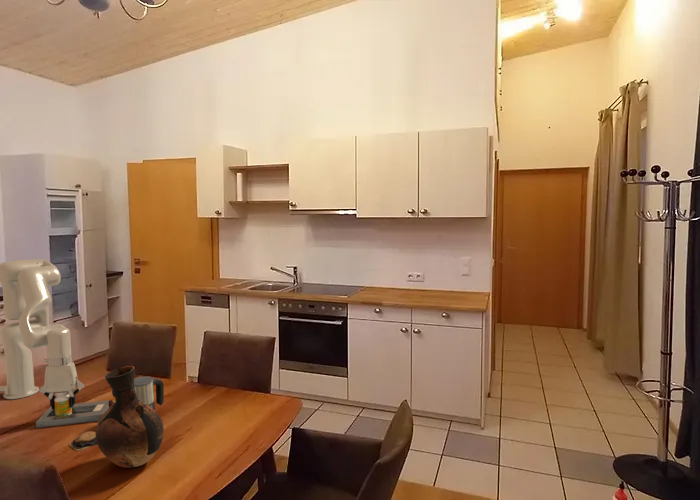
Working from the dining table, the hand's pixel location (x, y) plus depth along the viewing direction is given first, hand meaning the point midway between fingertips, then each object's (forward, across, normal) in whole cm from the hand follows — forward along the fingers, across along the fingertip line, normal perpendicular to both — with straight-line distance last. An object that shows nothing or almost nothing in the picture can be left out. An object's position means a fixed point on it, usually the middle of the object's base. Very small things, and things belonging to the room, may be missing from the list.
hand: (63, 406), depth 175 cm
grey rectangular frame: (+4, +4, 0) cm, 6 cm away
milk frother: (+4, +28, -6) cm, 29 cm away
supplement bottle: (+4, 0, 0) cm, 4 cm away
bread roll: (+5, +15, -24) cm, 29 cm away
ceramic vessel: (+4, +32, -42) cm, 53 cm away
